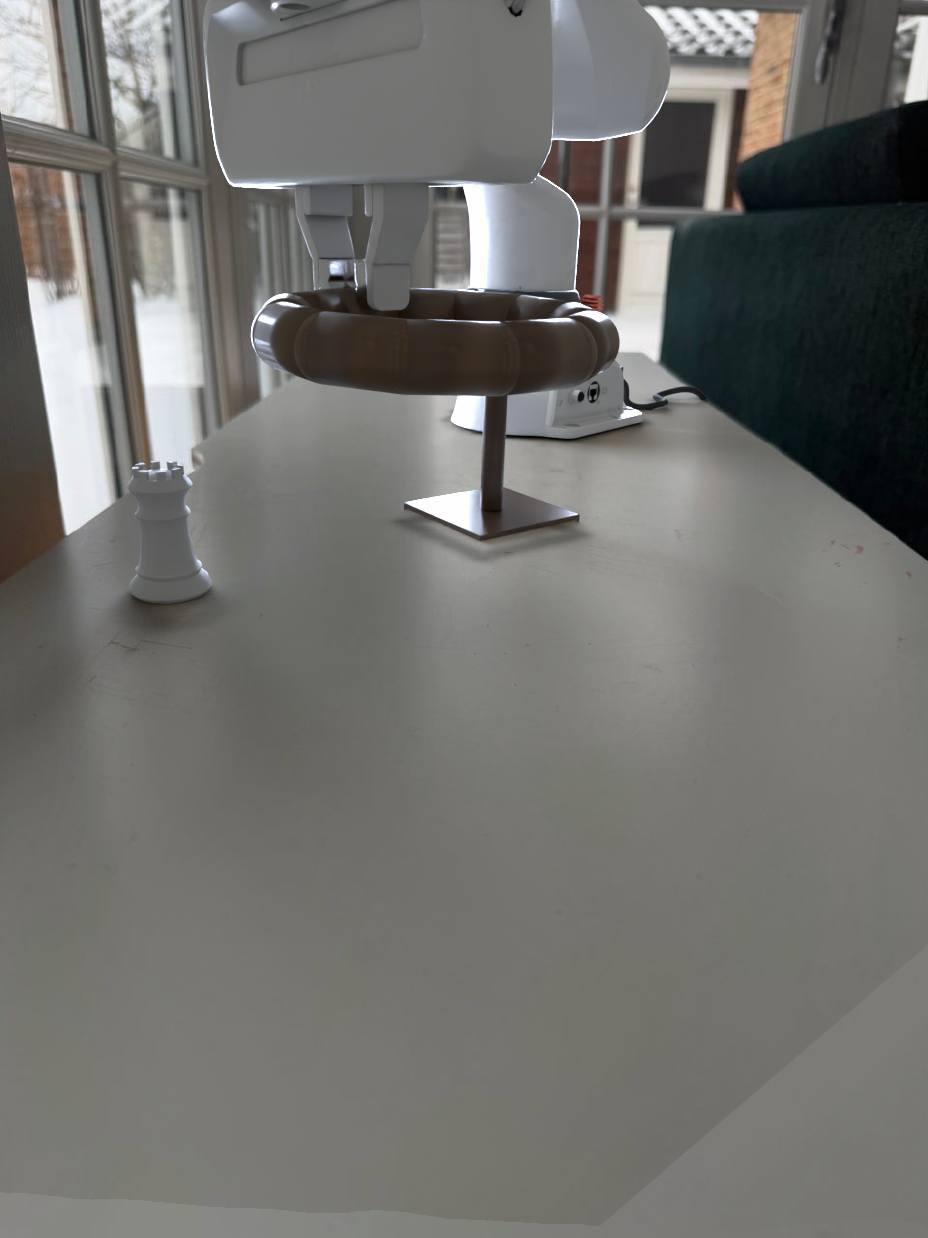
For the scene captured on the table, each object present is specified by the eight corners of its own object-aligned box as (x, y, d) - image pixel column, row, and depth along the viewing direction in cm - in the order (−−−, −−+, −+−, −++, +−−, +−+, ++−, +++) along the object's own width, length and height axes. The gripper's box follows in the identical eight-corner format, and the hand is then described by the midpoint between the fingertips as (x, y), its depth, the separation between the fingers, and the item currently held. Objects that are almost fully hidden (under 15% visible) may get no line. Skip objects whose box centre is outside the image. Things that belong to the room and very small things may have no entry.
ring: (467, 334, 44) (469, 282, 43) (685, 382, 34) (695, 316, 33) (199, 350, 36) (193, 288, 35) (379, 418, 26) (380, 334, 25)
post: (498, 503, 69) (506, 338, 64) (578, 534, 63) (594, 353, 58) (403, 522, 64) (403, 343, 59) (479, 557, 58) (487, 360, 53)
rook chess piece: (169, 632, 46) (152, 482, 43) (113, 612, 48) (92, 467, 45) (232, 605, 49) (221, 464, 46) (177, 587, 52) (162, 452, 48)
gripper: (617, -149, 27) (579, 327, 33) (301, -27, 42) (313, 286, 47) (450, -211, 23) (441, 335, 29) (169, -53, 38) (200, 289, 44)
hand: (360, 305), depth 38 cm, fingers closed on ring, 2 cm apart
